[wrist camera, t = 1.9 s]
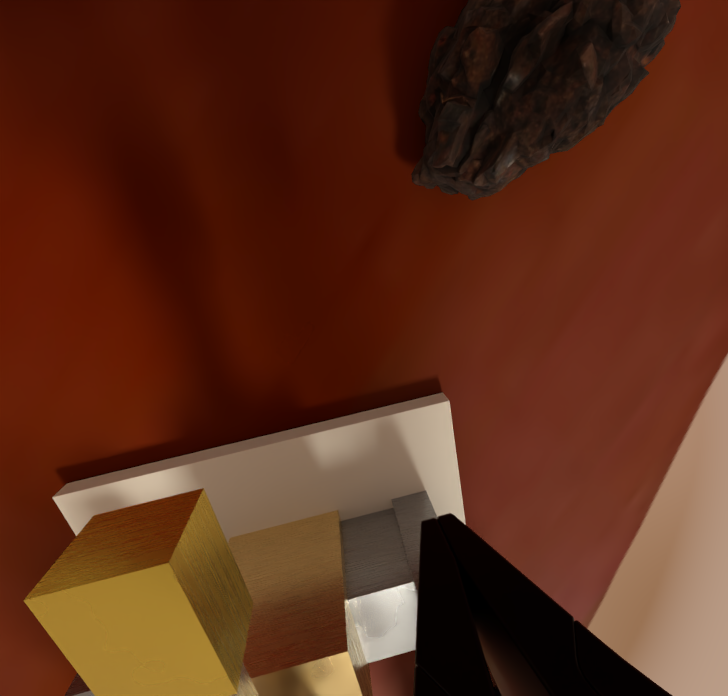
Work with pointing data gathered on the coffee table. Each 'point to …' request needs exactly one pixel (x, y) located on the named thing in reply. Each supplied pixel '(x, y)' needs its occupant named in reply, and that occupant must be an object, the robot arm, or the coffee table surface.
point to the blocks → (328, 599)
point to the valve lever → (150, 602)
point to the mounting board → (297, 471)
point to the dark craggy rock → (529, 83)
